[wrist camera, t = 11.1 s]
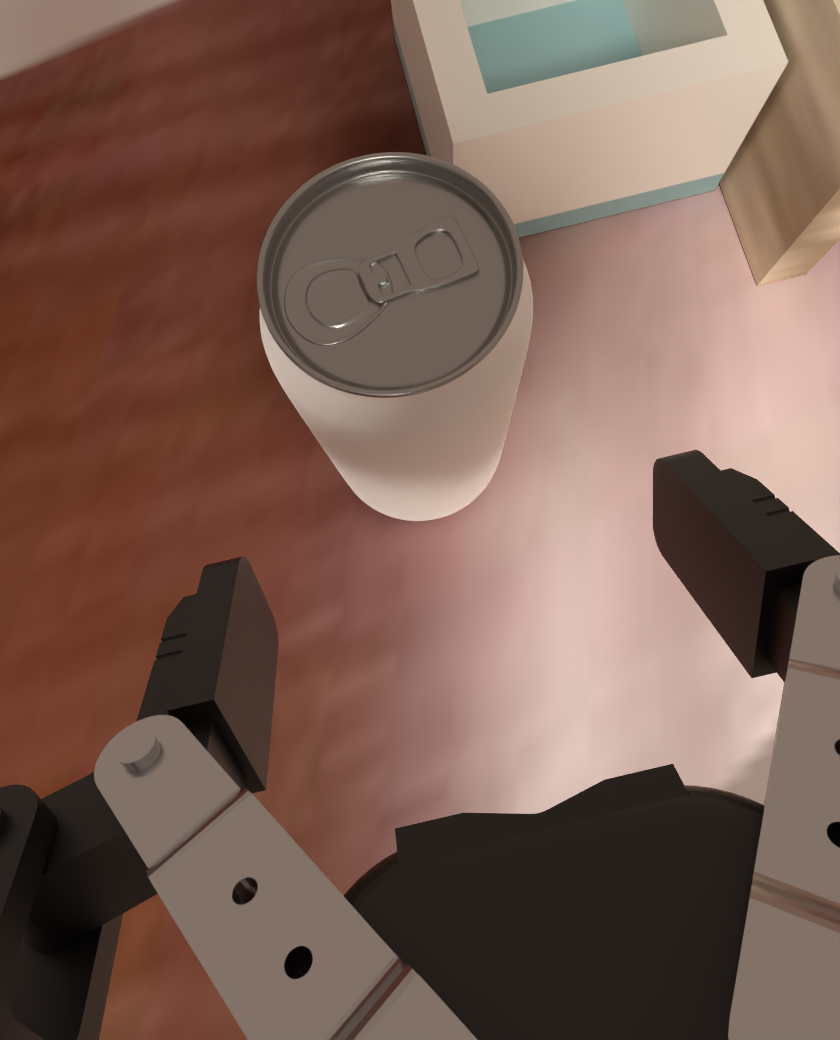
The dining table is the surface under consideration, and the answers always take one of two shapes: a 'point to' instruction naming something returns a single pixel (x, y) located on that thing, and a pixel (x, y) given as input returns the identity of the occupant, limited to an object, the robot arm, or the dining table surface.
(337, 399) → the can
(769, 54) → the socket block
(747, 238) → the stop board
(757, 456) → the dining table surface
